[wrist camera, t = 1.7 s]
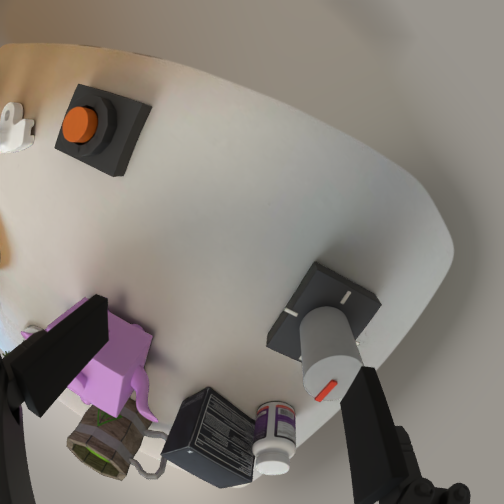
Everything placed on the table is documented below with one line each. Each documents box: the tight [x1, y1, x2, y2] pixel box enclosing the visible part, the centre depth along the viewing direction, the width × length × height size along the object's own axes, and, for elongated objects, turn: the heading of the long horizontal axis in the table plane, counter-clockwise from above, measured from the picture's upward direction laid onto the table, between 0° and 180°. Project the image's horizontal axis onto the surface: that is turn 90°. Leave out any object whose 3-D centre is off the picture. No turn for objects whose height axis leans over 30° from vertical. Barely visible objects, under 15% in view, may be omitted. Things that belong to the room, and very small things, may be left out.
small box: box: [160, 388, 255, 488], centre depth 31 cm, size 11×6×10 cm, turn 42°
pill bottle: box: [252, 402, 296, 475], centre depth 30 cm, size 5×5×10 cm
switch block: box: [55, 84, 152, 177], centre depth 24 cm, size 10×8×4 cm
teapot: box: [21, 298, 158, 422], centre depth 29 cm, size 15×13×11 cm
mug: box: [67, 398, 168, 481], centre depth 33 cm, size 16×11×12 cm
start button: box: [63, 107, 98, 142], centre depth 22 cm, size 4×4×2 cm
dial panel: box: [266, 262, 382, 362], centre depth 29 cm, size 10×9×3 cm
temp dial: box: [300, 306, 364, 402], centre depth 24 cm, size 5×5×8 cm
